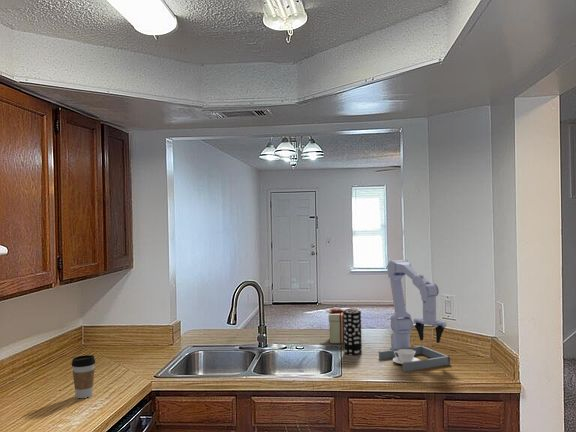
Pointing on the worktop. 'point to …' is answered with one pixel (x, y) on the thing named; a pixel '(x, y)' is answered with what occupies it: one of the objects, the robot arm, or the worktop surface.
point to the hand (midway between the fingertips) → (429, 341)
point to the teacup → (404, 356)
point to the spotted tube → (352, 332)
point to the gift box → (337, 324)
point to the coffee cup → (83, 375)
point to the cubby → (435, 360)
